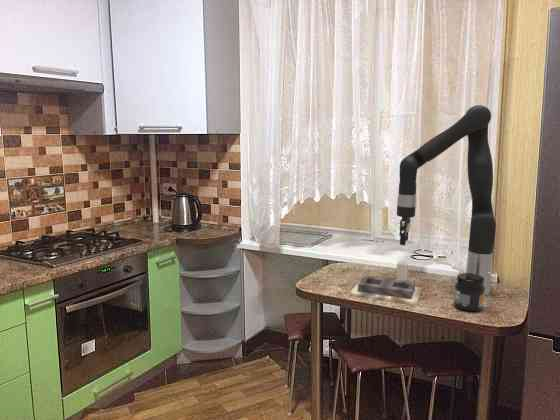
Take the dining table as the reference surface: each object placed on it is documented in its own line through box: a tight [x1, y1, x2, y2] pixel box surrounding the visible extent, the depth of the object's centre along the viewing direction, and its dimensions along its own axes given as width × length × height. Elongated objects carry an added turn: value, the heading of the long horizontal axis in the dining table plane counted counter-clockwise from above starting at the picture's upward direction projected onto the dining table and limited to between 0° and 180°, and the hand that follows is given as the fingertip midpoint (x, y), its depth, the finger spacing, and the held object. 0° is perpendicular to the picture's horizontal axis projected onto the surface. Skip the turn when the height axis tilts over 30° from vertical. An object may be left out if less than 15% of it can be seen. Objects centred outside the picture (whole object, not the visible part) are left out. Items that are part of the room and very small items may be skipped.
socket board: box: [349, 275, 423, 306], centre depth 195 cm, size 26×18×4 cm
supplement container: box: [453, 272, 485, 312], centre depth 180 cm, size 10×10×12 cm
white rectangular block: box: [395, 261, 409, 281], centre depth 206 cm, size 4×4×9 cm
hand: (403, 242), depth 203 cm, fingers open, 8 cm apart
